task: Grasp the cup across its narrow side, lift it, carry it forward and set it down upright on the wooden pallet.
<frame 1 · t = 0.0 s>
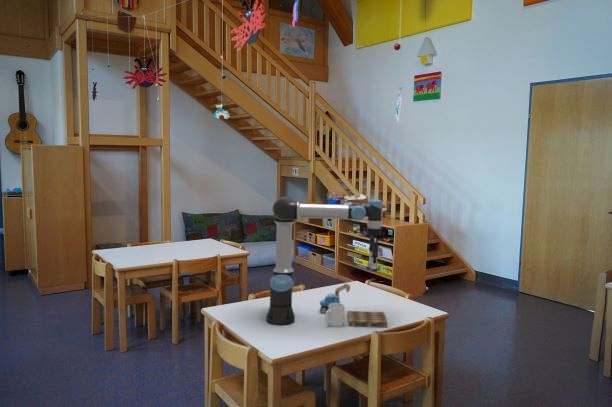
hand: (372, 266, 271), 28 cm above the table, fingers open, 13 cm apart
cup: (333, 325, 257), on the table
toy excavator: (334, 312, 278), on the table
wooden pallet: (366, 321, 263), on the table
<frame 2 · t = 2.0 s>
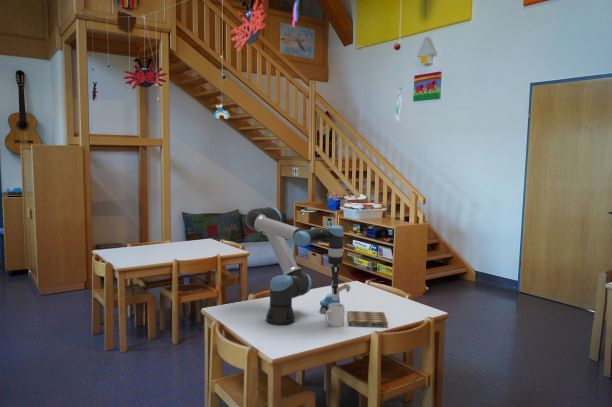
hand: (334, 296, 255), 15 cm above the table, fingers open, 13 cm apart
nothing on the table moved.
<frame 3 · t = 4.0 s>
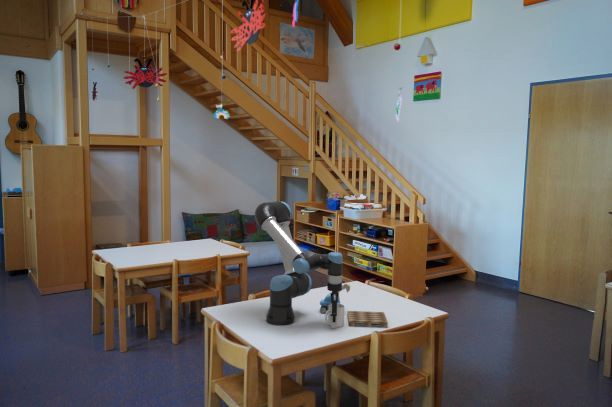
hand: (333, 324, 257), 0 cm above the table, fingers open, 9 cm apart
cup: (333, 325, 256), on the table, touching gripper
everything else where it was.
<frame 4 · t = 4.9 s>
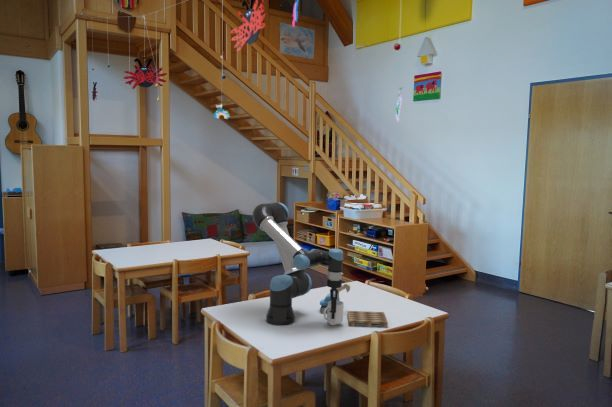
hand: (332, 321, 257), 2 cm above the table, fingers closed on cup, 9 cm apart
cup: (332, 322, 256), point 1 cm above the table, touching gripper
everything else where it was.
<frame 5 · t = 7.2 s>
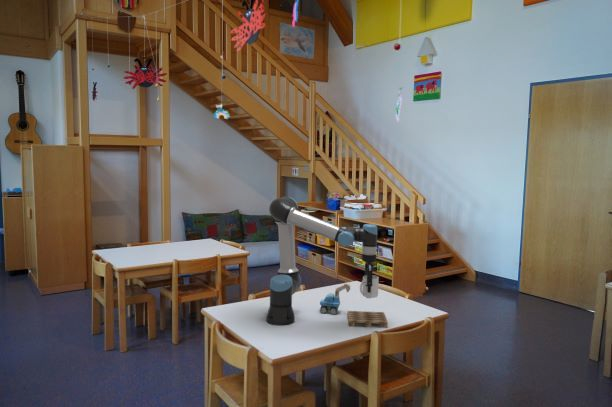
hand: (367, 295, 262), 14 cm above the table, fingers closed on cup, 9 cm apart
cup: (367, 296, 261), point 14 cm above the table, touching gripper
everything else where it was.
when the fingers open (4 cm above the table, at t = 9.8 s): cup stays where it is, resting on wooden pallet.
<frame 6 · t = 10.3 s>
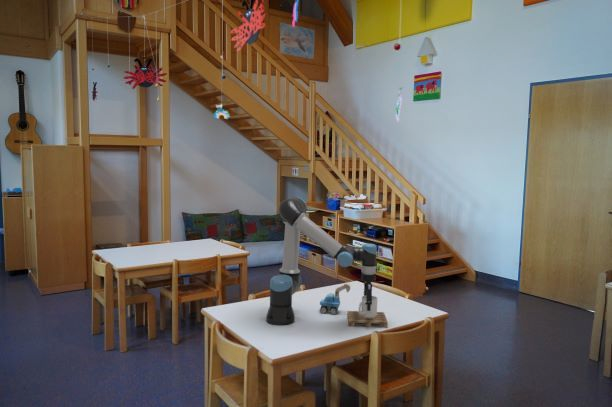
hand: (367, 312, 263), 5 cm above the table, fingers open, 13 cm apart
cup: (366, 317, 262), point 3 cm above the table, touching wooden pallet
everything else where it was.
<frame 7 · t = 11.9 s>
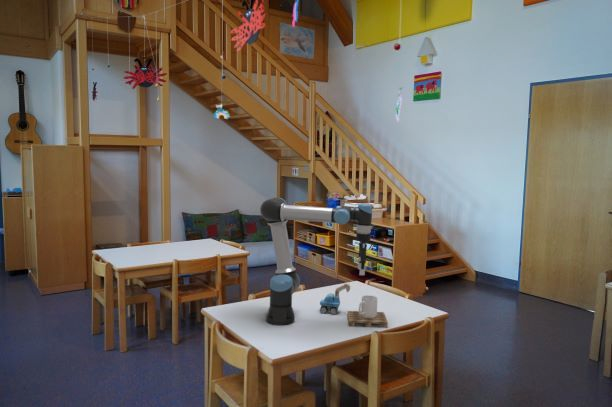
hand: (361, 272, 264), 26 cm above the table, fingers open, 13 cm apart
nothing on the table moved.
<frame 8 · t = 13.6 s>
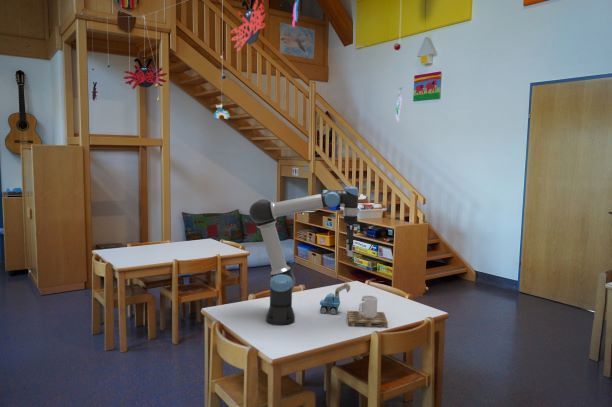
hand: (349, 253, 269), 35 cm above the table, fingers open, 13 cm apart
nothing on the table moved.
at the end: cup inside the target area on the wooden pallet (0.9 cm from its centre), point 2.8 cm above the wooden pallet's base; cup tilted 0°; the gripper is holding nothing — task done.
